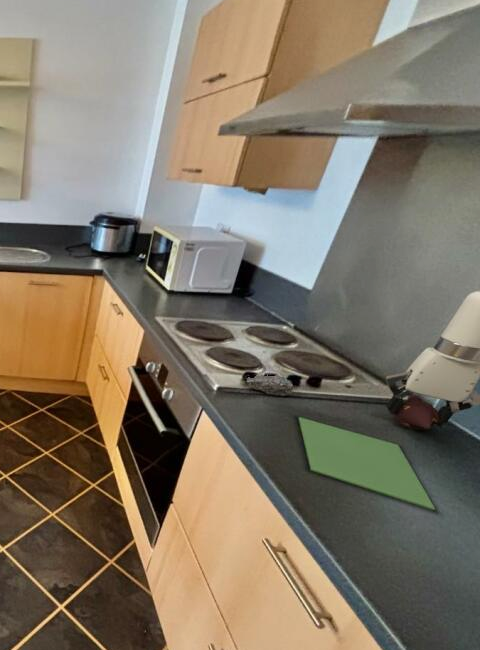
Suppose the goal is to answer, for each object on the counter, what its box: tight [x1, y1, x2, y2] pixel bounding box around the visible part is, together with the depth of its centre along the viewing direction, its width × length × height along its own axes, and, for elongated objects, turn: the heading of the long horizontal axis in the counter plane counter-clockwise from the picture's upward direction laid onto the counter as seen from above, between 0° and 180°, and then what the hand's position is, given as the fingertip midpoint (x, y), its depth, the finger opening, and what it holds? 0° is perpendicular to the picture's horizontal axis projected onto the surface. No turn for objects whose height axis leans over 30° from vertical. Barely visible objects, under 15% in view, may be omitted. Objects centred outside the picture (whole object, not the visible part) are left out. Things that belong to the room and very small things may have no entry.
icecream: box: [395, 394, 439, 431], centre depth 96 cm, size 7×7×15 cm
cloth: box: [298, 416, 436, 511], centre depth 85 cm, size 18×22×1 cm
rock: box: [245, 373, 294, 397], centre depth 109 cm, size 8×10×4 cm
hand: (413, 417), depth 97 cm, fingers closed on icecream, 7 cm apart
